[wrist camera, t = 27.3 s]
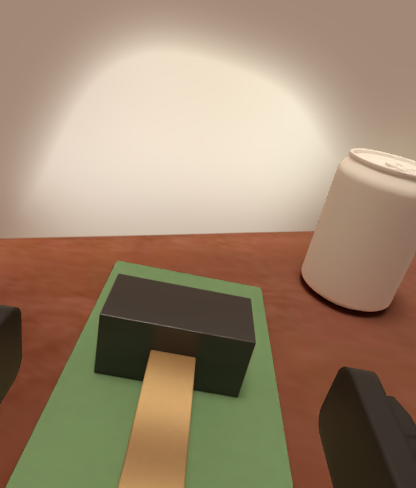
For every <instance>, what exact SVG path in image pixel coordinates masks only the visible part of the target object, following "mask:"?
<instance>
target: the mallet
mask: <svg viewBox="0 0 416 488" xmlns="http://www.w3.org/2000/svg"><path fill="white" fill-rule="evenodd" d="M255 345H256V339H255V330H254V321H253V312H252V303H251V299H250V298H246V297H240V296H235V295H230V294H224V293H219V292H214V291H209V290H203V289H198V288H193V287H188V286H182V285H177V284H172V283H167V282H161V281H156V280H151V279H145V278H140V277H135V276H130V275H124V274H118V276H117V278H116V280H115V282H114V284H113V286H112V288H111V291H110V293H109V295H108V297H107V299H106V301H105V304H104V306H103V308H102V310H101V312H100V314H99V324H98V335H97V345H96V356H95V366H94V372H95V373H99V374H105V375H111V376H117V377H122V378H128V379H134V380H140V381H143V383H142V387H141V392H140V396H139V400H138V404H137V408H136V412H135V417H134V421H133V425H132V429H131V433H130V437H129V442H128V446H127V450H126V454H125V458H124V462H123V467H122V471H121V475H120V479H119V483H118V487H117V488H185V478H186V466H187V455H188V443H189V432H190V421H191V409H192V398H193V390H197V391H203V392H208V393H214V394H220V395H226V396H231V397H238V396H239V393H240V390H241V387H242V384H243V381H244V378H245V375H246V372H247V369H248V366H249V363H250V360H251V357H252V354H253V351H254V348H255Z"/></svg>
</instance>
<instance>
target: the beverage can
mask: <svg viewBox="0 0 416 488" xmlns="http://www.w3.org/2000/svg"><path fill="white" fill-rule="evenodd" d="M415 254H416V161H413V160H410V159H407V158H404V157H400V156H397V155H393V154H389V153H385V152H381V151H376V150H370V149H363V148H354V149H351V150H350V155H349V156H347V157H346V158H345V159H343V160H342V161H341V162H340V164H339V165H338V168H337V171H336V173H335V176H334V179H333V182H332V184H331V187H330V190H329V193H328V196H327V198H326V202H325V204H324V207H323V210H322V212H321V216H320V218H319V221H318V224H317V227H316V229H315V232H314V235H313V238H312V240H311V243H310V246H309V249H308V252H307V254H306V257H305V260H304V263H303V266H302V269H301V272H302V276H303V278H304V280H305V282H306V283H307V284H308V285H309V286H310V287H311V288H312V289H313V290H314V291H315V292H317V293H318V294H319V295H321V296H322V297H323V298H325V299H327V300H328V301H330V302H332V303H334V304H336V305H339V306H342V307H345V308H348V309H353V310H359V311H367V312H374V311H380V310H383V309H386V308H387V307H388V306H389V305H390V304H391V302H392V300H393V298H394V296H395V294H396V292H397V290H398V288H399V286H400V284H401V282H402V280H403V278H404V276H405V274H406V272H407V270H408V268H409V266H410V264H411V262H412V260H413V258H414V256H415Z"/></svg>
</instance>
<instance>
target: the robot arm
mask: <svg viewBox="0 0 416 488" xmlns="http://www.w3.org/2000/svg"><path fill="white" fill-rule="evenodd" d="M21 358H22V340H21V311H20V309H19V308H17V307H11V306H6V305H0V403H1V402H2V400H3V398H4V397H5V395H6V393H7V392H8V390H9V389H10V387H11V385H12V384H13V382H14V380H15V378H16V376H17V374H18V371H19V368H20V364H21ZM319 433H320V437H321V441H322V445H323V449H324V453H325V456H326V460H327V464H328V468H329V472H330V476H331V480H332V484H333V488H416V426H415V424H414V422H413V420H412V418H411V416H410V415H409V414H408V413H407V411H406V410H405V409H404V408H403V407H402V406H401V405H400V404H399V402H398V401H397V400H396V399H395V398H394V397H391V396H387V395H386V393H385V391H384V389H383V386H382V384H381V382H380V380H379V378H378V376H377V375H376V374H375V373H374V372H372V371H366V370H361V369H355V368H349V367H342V368H341V369H340V370H339V371H338V373H337V375H336V377H335V379H334V382H333V384H332V386H331V388H330V390H329V392H328V394H327V396H326V398H325V401H324V403H323V405H322V407H321V410H320V414H319Z"/></svg>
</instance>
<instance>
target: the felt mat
mask: <svg viewBox="0 0 416 488" xmlns="http://www.w3.org/2000/svg"><path fill="white" fill-rule="evenodd" d="M118 274H124V275H130V276H135V277H140V278H145V279H151V280H156V281H161V282H167V283H172V284H177V285H182V286H188V287H193V288H198V289H203V290H209V291H214V292H219V293H224V294H230V295H235V296H240V297H246V298H250V299H251V303H252V312H253V321H254V330H255V339H256V345H255V348H254V351H253V354H252V357H251V360H250V363H249V366H248V369H247V372H246V375H245V378H244V381H243V384H242V387H241V390H240V393H239V396H238V397H231V396H226V395H220V394H214V393H208V392H203V391H197V390H193V398H192V409H191V421H190V432H189V443H188V455H187V466H186V478H185V488H293V483H292V477H291V471H290V465H289V458H288V452H287V446H286V440H285V434H284V427H283V421H282V415H281V409H280V402H279V396H278V390H277V384H276V378H275V371H274V365H273V359H272V353H271V347H270V340H269V334H268V328H267V322H266V315H265V309H264V303H263V297H262V291H261V288H259V287H254V286H248V285H243V284H238V283H233V282H227V281H222V280H217V279H212V278H206V277H201V276H196V275H191V274H185V273H180V272H175V271H170V270H164V269H159V268H154V267H149V266H143V265H138V264H133V263H128V262H122V261H117V262H116V264H115V266H114V268H113V270H112V272H111V274H110V276H109V278H108V280H107V282H106V284H105V286H104V288H103V290H102V292H101V294H100V296H99V298H98V300H97V302H96V304H95V306H94V308H93V310H92V313H91V315H90V317H89V319H88V321H87V323H86V325H85V327H84V329H83V331H82V333H81V335H80V337H79V339H78V341H77V343H76V345H75V347H74V349H73V351H72V353H71V355H70V357H69V359H68V361H67V363H66V365H65V367H64V369H63V371H62V374H61V376H60V378H59V380H58V382H57V384H56V386H55V388H54V390H53V392H52V394H51V396H50V398H49V400H48V402H47V404H46V406H45V408H44V410H43V412H42V414H41V416H40V418H39V420H38V422H37V424H36V426H35V428H34V430H33V433H32V435H31V437H30V439H29V441H28V443H27V445H26V447H25V449H24V451H23V453H22V455H21V457H20V459H19V461H18V463H17V465H16V467H15V469H14V471H13V473H12V475H11V477H10V479H9V481H8V483H7V485H6V487H5V488H117V487H118V483H119V479H120V475H121V471H122V467H123V462H124V458H125V454H126V450H127V446H128V442H129V437H130V433H131V429H132V425H133V421H134V417H135V412H136V408H137V404H138V400H139V396H140V392H141V387H142V383H143V381H140V380H134V379H128V378H122V377H117V376H111V375H105V374H99V373H95V372H94V366H95V356H96V345H97V335H98V324H99V314H100V312H101V310H102V308H103V306H104V304H105V301H106V299H107V297H108V295H109V293H110V291H111V288H112V286H113V284H114V282H115V280H116V278H117V276H118Z"/></svg>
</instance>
